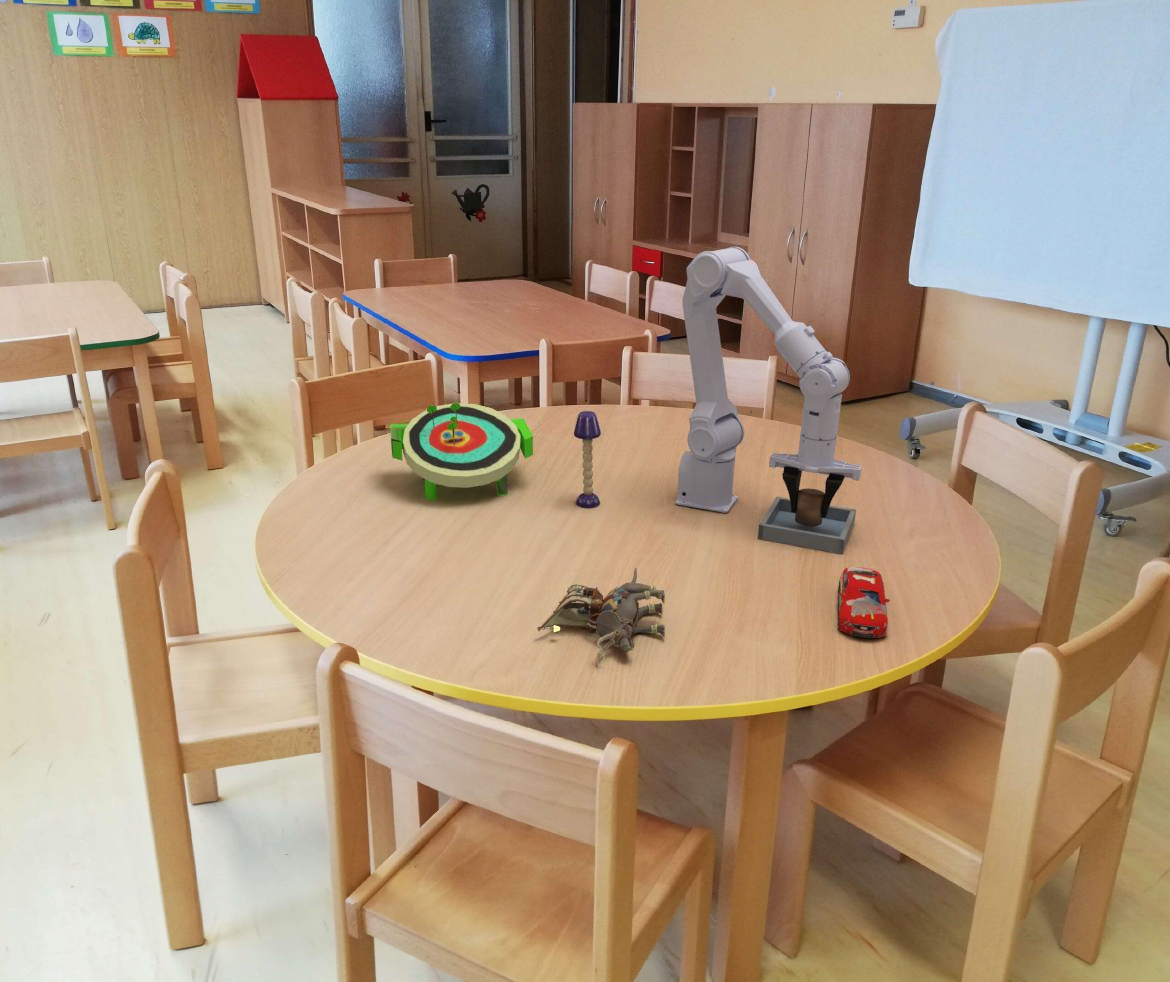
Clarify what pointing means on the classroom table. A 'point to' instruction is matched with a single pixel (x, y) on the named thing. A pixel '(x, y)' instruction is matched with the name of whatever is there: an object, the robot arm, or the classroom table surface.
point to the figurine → (608, 613)
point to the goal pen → (807, 528)
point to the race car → (862, 603)
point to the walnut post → (809, 507)
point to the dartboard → (461, 446)
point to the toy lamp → (587, 456)
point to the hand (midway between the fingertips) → (809, 513)
